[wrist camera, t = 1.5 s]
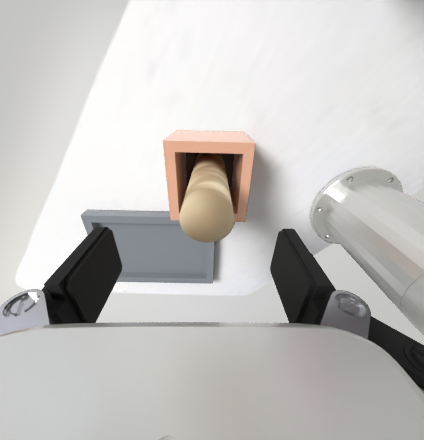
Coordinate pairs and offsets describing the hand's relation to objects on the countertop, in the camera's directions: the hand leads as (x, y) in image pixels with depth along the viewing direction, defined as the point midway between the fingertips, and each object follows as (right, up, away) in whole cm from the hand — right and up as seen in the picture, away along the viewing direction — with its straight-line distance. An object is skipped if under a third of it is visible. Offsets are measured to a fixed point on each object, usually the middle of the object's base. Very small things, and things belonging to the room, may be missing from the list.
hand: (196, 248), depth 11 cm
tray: (-9, -3, +23) cm, 25 cm away
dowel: (+1, +9, +16) cm, 18 cm away
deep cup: (+1, +9, +16) cm, 18 cm away
